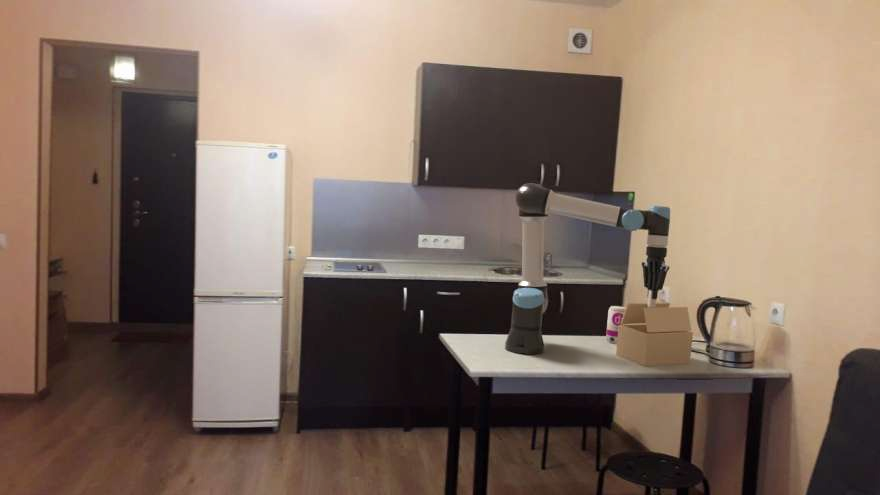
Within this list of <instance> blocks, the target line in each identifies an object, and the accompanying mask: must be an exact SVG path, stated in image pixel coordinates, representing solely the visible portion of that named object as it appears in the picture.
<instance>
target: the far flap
mask: <svg viewBox="0 0 880 495" xmlns="http://www.w3.org/2000/svg"><path fill="white" fill-rule="evenodd" d="M647 304H648V302H628V303H627V304H626V309H625V312H624V315H623V318H622V320H621V324H627V325H632V324H646V319H645V313H644V308H666V307H670V305H671V302H656V306H655V307H647Z"/></svg>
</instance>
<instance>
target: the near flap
mask: <svg viewBox="0 0 880 495" xmlns="http://www.w3.org/2000/svg"><path fill="white" fill-rule="evenodd" d="M688 308H689V307H688V306H678V307H676V306H674V307H673V306H672V307H670V306H669V307H666V308H644V313H645V319H646V323H645V324H646V326H647V332H674V331H690V332H692V326H691V320H690V313H689V309H688Z"/></svg>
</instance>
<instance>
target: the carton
mask: <svg viewBox="0 0 880 495" xmlns="http://www.w3.org/2000/svg"><path fill="white" fill-rule="evenodd" d="M693 333H694V332H693V331H674V332H647V326H646V323H637V324H627V325H619V327H618V339H617V344H616V351H615V352H616V353H615V355H616V356H617V357H620V358H622V359H625V360H627V361H629V362H632V363H635V364H637V365H639V366H642V367H656V366H657V367H658V366H670V365H671V366H672V365H687V364H688V365H689V364H690V363H691V357H692V356H691V354H692V346H693V345H692V344H693V343H692V342H693V336H694V335H693Z"/></svg>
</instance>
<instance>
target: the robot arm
mask: <svg viewBox="0 0 880 495" xmlns="http://www.w3.org/2000/svg"><path fill="white" fill-rule="evenodd" d="M514 197H515V200H514V201H515V204H516V206H517V207H518V218H519V219H520V220H521V221H522V226H521V228H522V234H521V236H522V238H521V239H522V241H521V242H522V244H521V245H522V247H521V249H522V251H521V258H522V259H521V261H522V262H521V268H522V269H521V281H520V282H519V283H518V287H517V289H515V290H514V291H513V296H512V308H511V311H512V312H511V324H510V329H509V333H508V335H507V338H506V340H505V343H504V344H505V345H504V348H505V350H506V351H510V352H512V351H513V352H512V353H515V352H517V353H516V354H521V353H525V354H524V355H539V353H540V354H543V353H544V352H545V344H544V338H543V335H542V325H543V324H542V322H543V314H544V313H545V312H546V310H547V308H548V306H549V297H548V284H547V283H546V282H545V280H544V261H545V260H544V258H545V257H544V256H545V255H544V254H545V253H544V247H545V246H544V242H545V238H544V237H545V221H546V219H547V218H549V216H548V215H549V214H556V215H559V216H564V217H568V218H573V219H578V220H584V221H587V222H591V223H596V224H600V225H607V226H611V227H615V228H619V229H624V230H627V231H631V232H633V231H634V232H635V231H637V230H638V231H639V230H643V231H647V238H646V245H647V246H646V248H645V250H646V252H645V255H646V256H647V257H646V259H645V262H643V261H642V262H641V267H642V272H643V273H642V274H643V276H642V277H643V287H644V288H646V289H647V303H648V304H647V307H655V306H656V303H657V299H658V294H659V291H662V290H663V287H664V285H665V281H666V278H667V274H668V271H669V270H670V266H669V265H666V260H665V258H666V257H667V253H668V248H667V246H668V245H669V244H668V243H669V233H670V222H671V208H670V207H668V206H661V205H659V206H658V205H651V206H650V207H649V209H648V210H641V209H631V208H625V207H621V206H616V205H613V204H607V203H603V202H598V201H592V200H590V199H589V200H588V199H585V198H579V197H576V196H575V197H574V196H570V195H564V194H561V193H555V192H554V190H552V189H549V188H546V187H544V186H543V185H541V184H539V183H533V182H530V183H529V182H527V183H525V184H523V185H521V186H520V187H519V188H518V189H517V191H516V192H515V196H514Z"/></svg>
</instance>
